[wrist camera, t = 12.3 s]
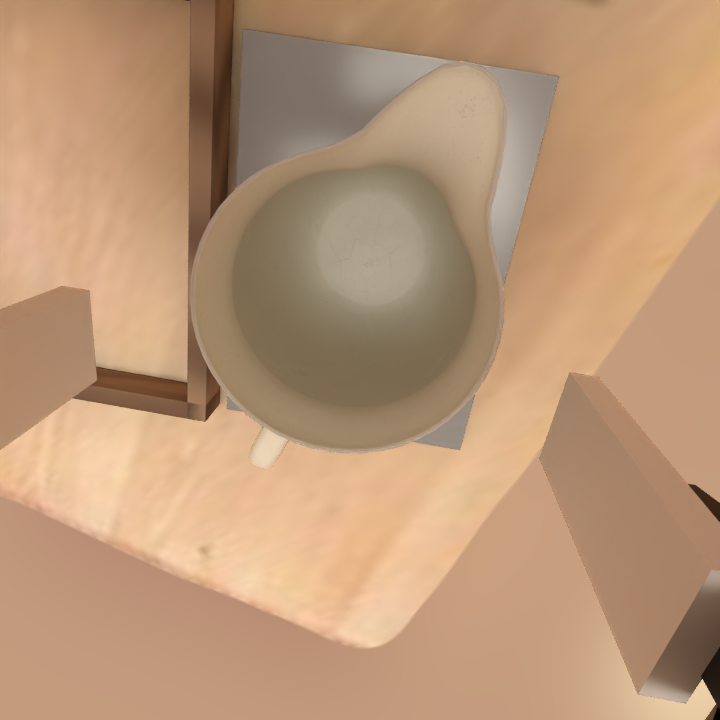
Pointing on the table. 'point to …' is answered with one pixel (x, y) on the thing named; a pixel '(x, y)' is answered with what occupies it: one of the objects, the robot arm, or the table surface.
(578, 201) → the table surface
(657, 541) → the robot arm
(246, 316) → the pitcher
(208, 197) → the frame
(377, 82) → the slate board
